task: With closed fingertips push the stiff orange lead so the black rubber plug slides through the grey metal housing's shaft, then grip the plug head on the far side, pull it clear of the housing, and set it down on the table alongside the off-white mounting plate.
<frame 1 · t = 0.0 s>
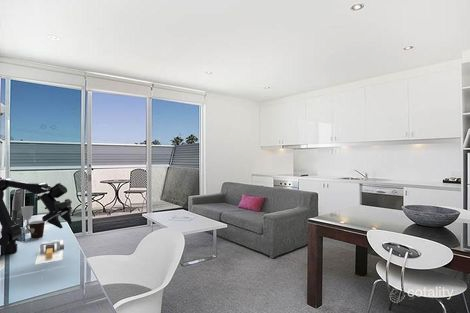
hand: (66, 225, 149), 15 cm above the table, tool tilted 35°, fingers open, 9 cm apart
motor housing: (50, 250, 151), resting on mount plate
mount plate: (50, 251, 150), on the table
chalice: (27, 232, 188), on the table
plug: (50, 251, 148), point 1 cm above the table, touching mount plate
coffee mug: (36, 236, 178), on the table
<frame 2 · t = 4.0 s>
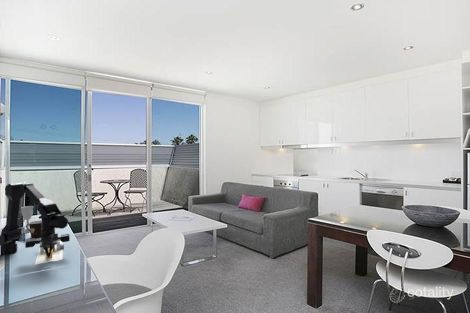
hand: (48, 256, 138), 1 cm above the table, tool pointing down, fingers closed, pressing on plug
plug: (50, 251, 149), point 1 cm above the table, touching gripper
everything else where it was.
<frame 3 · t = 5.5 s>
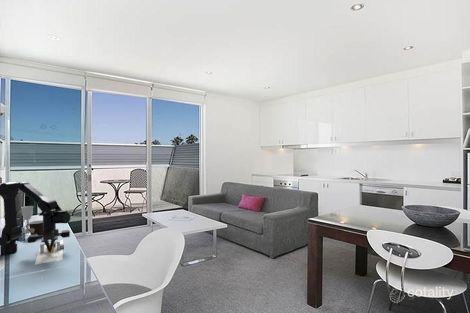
hand: (50, 251, 145), 2 cm above the table, tool pointing down, fingers closed, pressing on plug
plug: (51, 247, 156), point 1 cm above the table, touching gripper, mount plate
everything else where it was.
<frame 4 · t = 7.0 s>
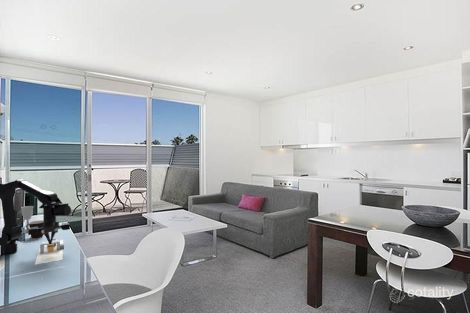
hand: (50, 244, 146), 5 cm above the table, tool pointing down, fingers closed
plug: (51, 246, 157), point 1 cm above the table, touching mount plate
everything else where it was.
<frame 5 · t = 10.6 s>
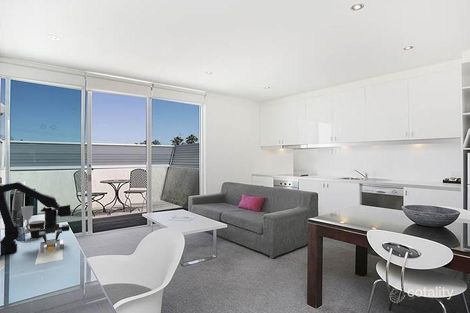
hand: (51, 244, 157), 2 cm above the table, tool pointing down, fingers closed on plug, 4 cm apart
plug: (51, 246, 157), point 1 cm above the table, touching gripper, mount plate
everything else where it was.
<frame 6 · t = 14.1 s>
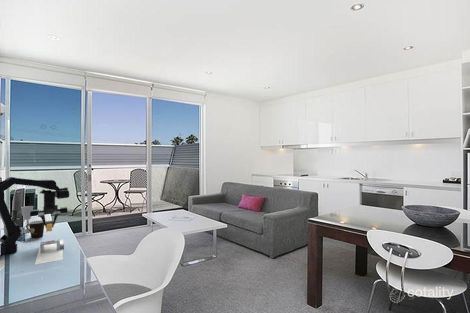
hand: (49, 225, 163), 11 cm above the table, tool pointing down, fingers closed on plug, 4 cm apart
plug: (49, 227, 163), point 10 cm above the table, touching gripper
everything else where it was.
when the fingers open (2 cm above the table, at t = 18.0 s): plug drops 1 cm, on the table.
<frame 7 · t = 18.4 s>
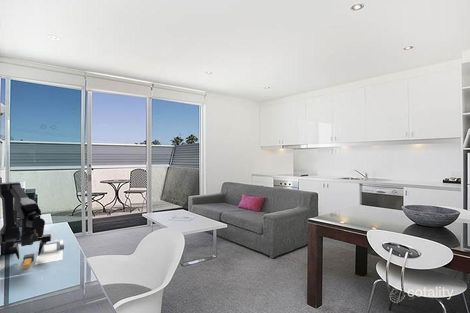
hand: (29, 257, 136), 2 cm above the table, tool pointing down, fingers open, 8 cm apart
plug: (29, 262, 136), on the table
everything else where it was.
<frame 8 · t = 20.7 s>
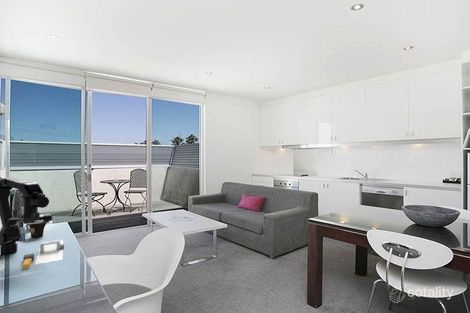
hand: (31, 235, 140), 12 cm above the table, tool pointing down, fingers open, 9 cm apart
nothing on the table moved.
at the end: plug inside the target area (0.3 cm from its centre), on the table; plug touching table; the gripper is holding nothing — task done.
